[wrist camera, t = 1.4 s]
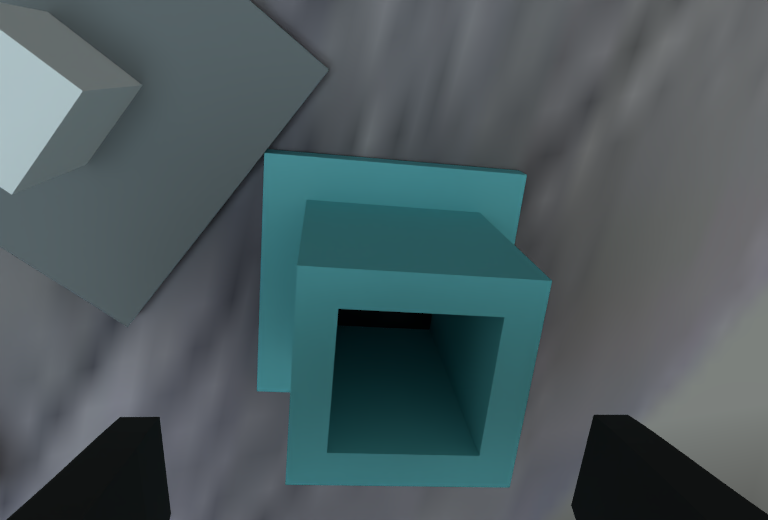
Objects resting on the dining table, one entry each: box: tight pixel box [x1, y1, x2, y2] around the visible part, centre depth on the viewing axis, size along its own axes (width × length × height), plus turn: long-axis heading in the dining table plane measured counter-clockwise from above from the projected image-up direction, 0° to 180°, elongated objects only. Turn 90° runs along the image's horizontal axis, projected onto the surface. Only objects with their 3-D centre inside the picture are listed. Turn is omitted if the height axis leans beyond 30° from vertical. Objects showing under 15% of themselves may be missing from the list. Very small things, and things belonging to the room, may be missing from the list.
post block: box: [0, 0, 329, 327], centre depth 14 cm, size 10×10×5 cm
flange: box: [257, 149, 552, 487], centre depth 16 cm, size 8×8×7 cm
